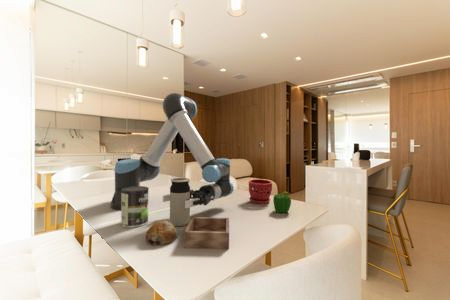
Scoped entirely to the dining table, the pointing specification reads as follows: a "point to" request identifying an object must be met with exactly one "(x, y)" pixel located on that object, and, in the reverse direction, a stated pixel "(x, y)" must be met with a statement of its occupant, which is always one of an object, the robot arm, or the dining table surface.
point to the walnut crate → (207, 233)
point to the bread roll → (161, 233)
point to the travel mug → (179, 201)
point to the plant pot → (260, 191)
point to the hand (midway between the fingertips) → (173, 201)
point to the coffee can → (134, 206)
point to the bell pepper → (282, 202)
